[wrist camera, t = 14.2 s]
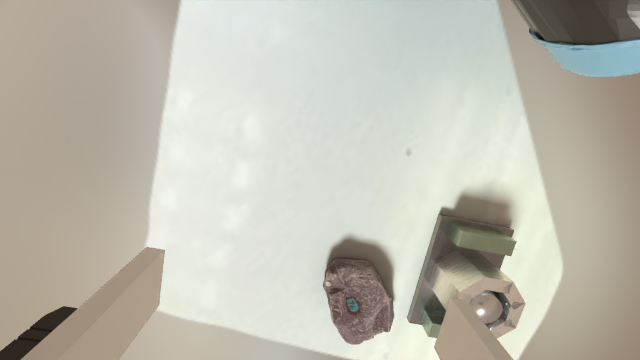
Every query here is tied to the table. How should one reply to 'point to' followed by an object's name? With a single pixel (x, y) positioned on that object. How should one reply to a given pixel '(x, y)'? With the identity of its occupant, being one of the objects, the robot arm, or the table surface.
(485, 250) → the stand
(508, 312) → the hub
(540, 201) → the table surface
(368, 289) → the rock
